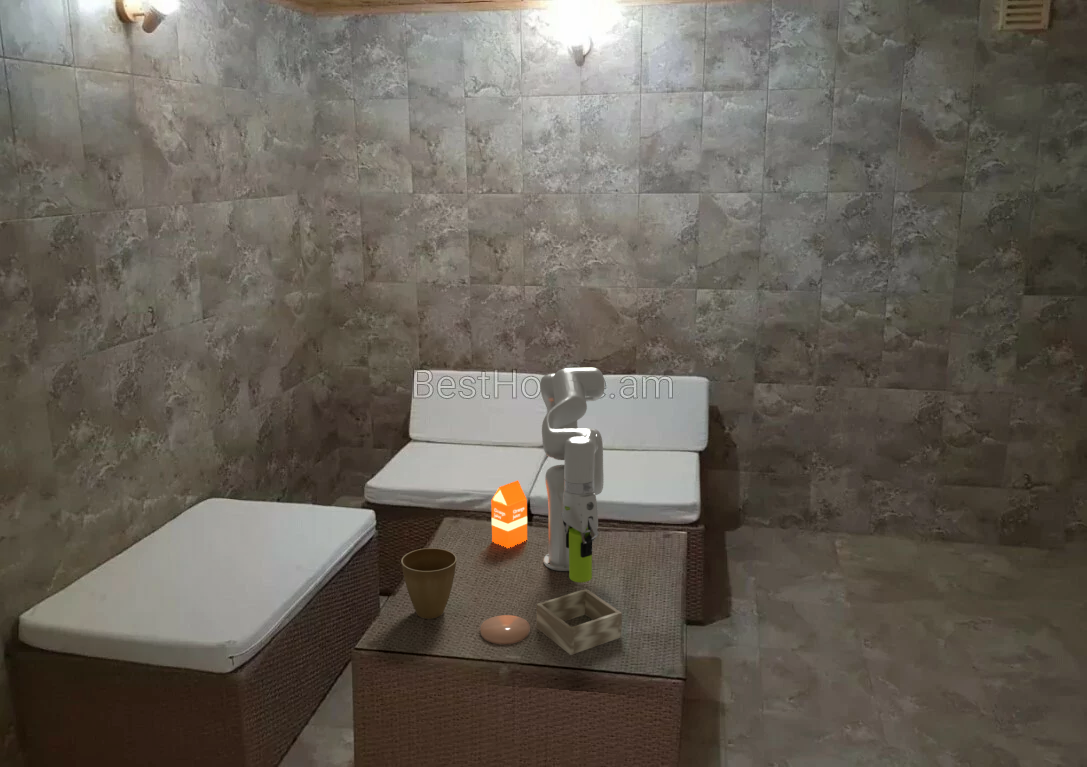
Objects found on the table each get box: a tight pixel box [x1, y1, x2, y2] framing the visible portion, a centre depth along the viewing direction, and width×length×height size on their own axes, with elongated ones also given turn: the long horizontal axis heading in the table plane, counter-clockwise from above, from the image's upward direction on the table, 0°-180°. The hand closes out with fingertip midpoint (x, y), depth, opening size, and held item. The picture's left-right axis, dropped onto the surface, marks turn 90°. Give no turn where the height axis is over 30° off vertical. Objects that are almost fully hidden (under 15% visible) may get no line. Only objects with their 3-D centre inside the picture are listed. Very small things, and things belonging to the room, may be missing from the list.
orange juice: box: [490, 479, 528, 549], centre depth 292 cm, size 8×9×20 cm
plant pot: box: [400, 547, 458, 620], centre depth 247 cm, size 15×15×16 cm
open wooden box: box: [536, 588, 623, 656], centre depth 237 cm, size 16×16×7 cm
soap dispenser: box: [565, 506, 593, 583], centre depth 232 cm, size 6×7×20 cm
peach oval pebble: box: [479, 614, 531, 645], centre depth 239 cm, size 13×13×1 cm
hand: (578, 550), depth 232 cm, fingers closed on soap dispenser, 5 cm apart
